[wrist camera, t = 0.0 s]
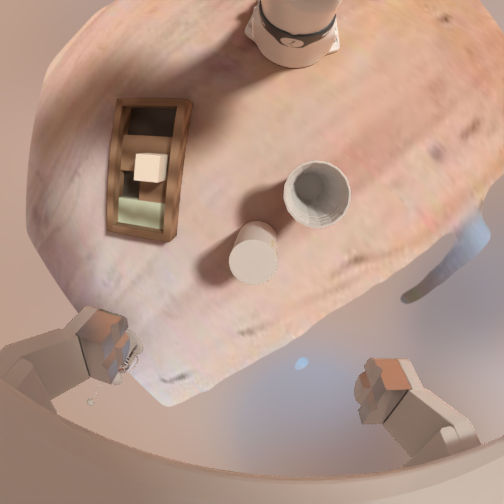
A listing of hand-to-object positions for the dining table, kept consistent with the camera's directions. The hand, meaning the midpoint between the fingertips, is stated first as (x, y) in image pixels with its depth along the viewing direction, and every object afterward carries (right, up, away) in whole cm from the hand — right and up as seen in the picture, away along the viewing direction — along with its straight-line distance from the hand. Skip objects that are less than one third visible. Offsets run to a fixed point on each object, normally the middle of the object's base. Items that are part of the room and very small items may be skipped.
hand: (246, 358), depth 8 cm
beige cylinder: (+1, +6, +49) cm, 50 cm away
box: (-21, +21, +45) cm, 54 cm away
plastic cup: (+11, +16, +45) cm, 49 cm away
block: (-19, +20, +43) cm, 51 cm away
